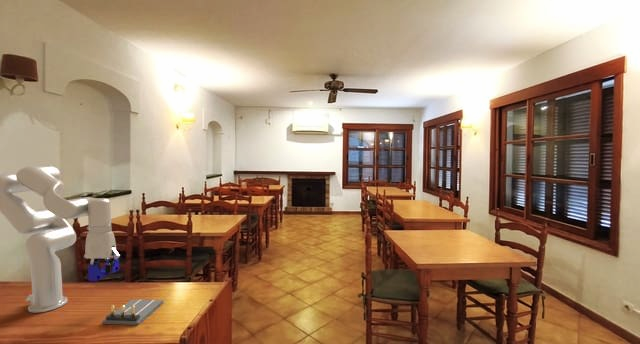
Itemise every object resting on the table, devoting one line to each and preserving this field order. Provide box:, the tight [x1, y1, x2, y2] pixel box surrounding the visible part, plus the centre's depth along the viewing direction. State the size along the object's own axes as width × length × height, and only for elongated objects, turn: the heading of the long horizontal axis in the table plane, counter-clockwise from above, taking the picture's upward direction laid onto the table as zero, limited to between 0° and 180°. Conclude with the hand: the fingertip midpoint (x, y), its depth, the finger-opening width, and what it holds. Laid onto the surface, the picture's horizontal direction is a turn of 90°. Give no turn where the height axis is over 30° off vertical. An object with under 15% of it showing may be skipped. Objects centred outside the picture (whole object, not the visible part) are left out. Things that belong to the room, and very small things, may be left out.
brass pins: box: [105, 304, 140, 321], centre depth 121 cm, size 12×2×5 cm, turn 87°
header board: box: [102, 299, 164, 326], centre depth 128 cm, size 14×17×1 cm
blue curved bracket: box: [87, 255, 120, 282], centre depth 129 cm, size 12×4×6 cm, turn 172°
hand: (102, 273), depth 129 cm, fingers closed on blue curved bracket, 4 cm apart
